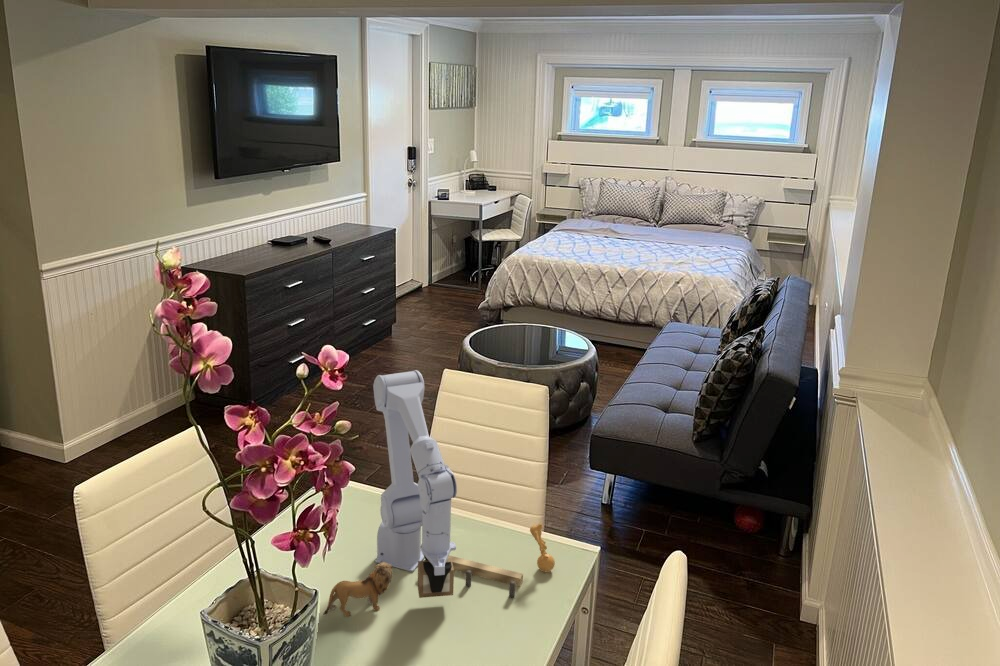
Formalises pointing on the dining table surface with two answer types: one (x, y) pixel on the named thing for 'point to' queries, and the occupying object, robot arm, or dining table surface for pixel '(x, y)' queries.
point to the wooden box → (425, 585)
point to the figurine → (542, 550)
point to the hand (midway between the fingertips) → (435, 584)
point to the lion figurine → (362, 588)
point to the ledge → (487, 573)
